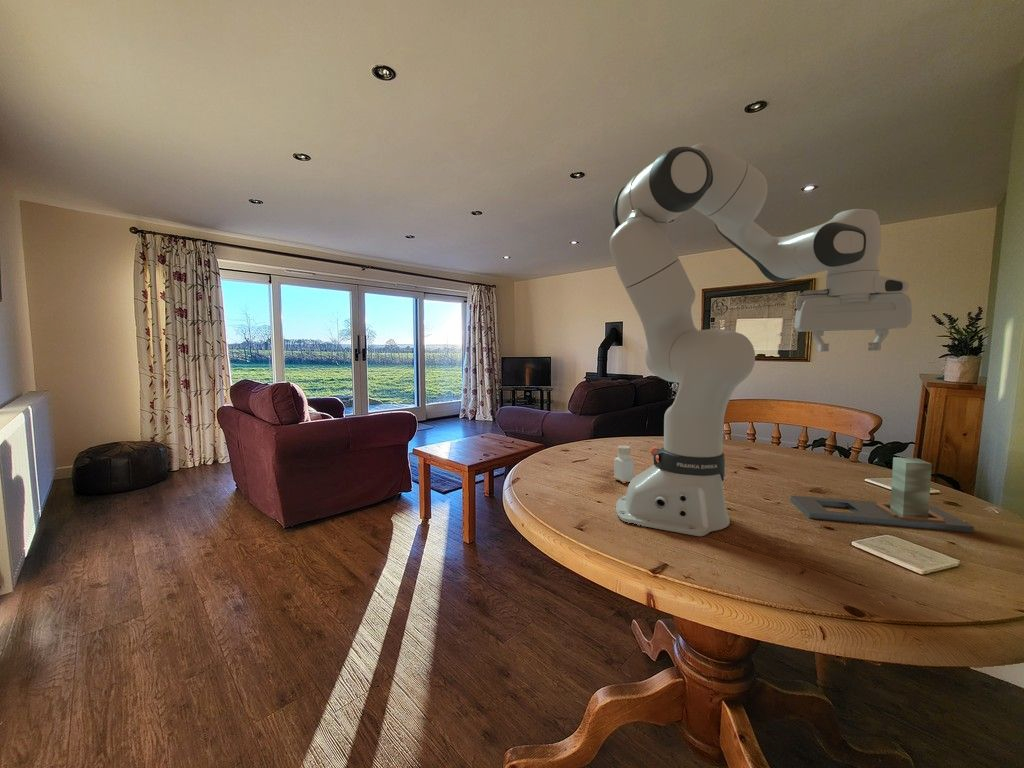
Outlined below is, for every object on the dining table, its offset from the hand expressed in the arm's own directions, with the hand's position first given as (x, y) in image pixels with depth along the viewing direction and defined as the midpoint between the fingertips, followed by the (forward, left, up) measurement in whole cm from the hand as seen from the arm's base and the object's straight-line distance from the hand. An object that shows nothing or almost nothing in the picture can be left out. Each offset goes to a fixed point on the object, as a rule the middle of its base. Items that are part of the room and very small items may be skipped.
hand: (848, 351), depth 87 cm
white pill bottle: (-48, +2, -34) cm, 59 cm away
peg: (+8, -8, -34) cm, 36 cm away
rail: (+2, -8, -34) cm, 35 cm away
